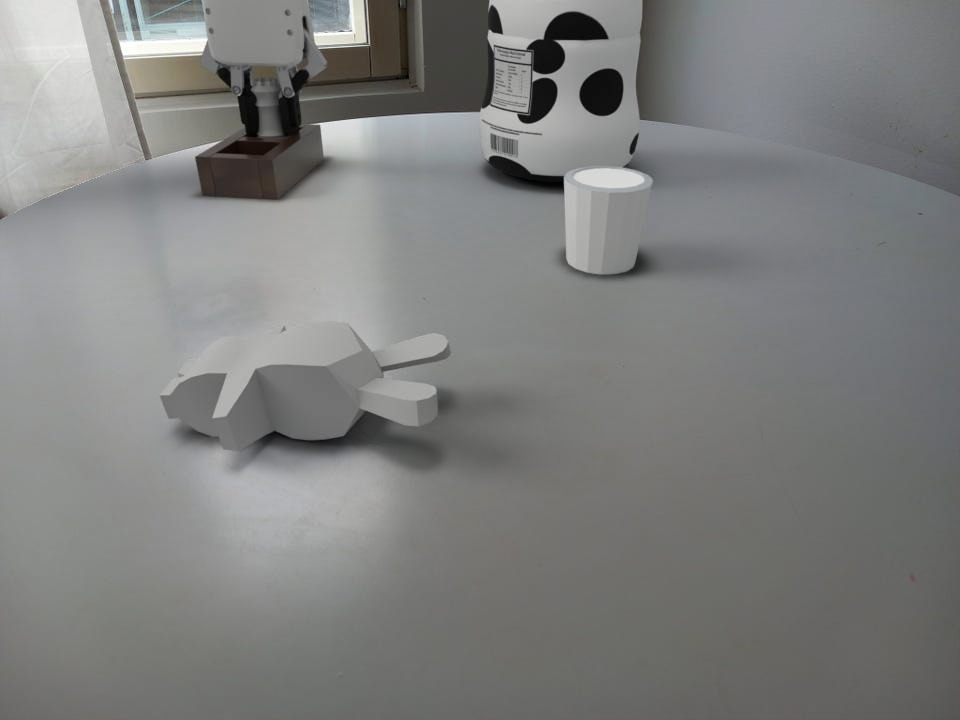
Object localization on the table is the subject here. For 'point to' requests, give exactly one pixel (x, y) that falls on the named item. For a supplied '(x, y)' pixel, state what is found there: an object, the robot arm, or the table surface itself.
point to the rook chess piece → (268, 108)
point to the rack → (259, 163)
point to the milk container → (560, 86)
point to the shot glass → (604, 217)
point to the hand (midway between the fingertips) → (272, 130)
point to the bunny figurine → (300, 384)
